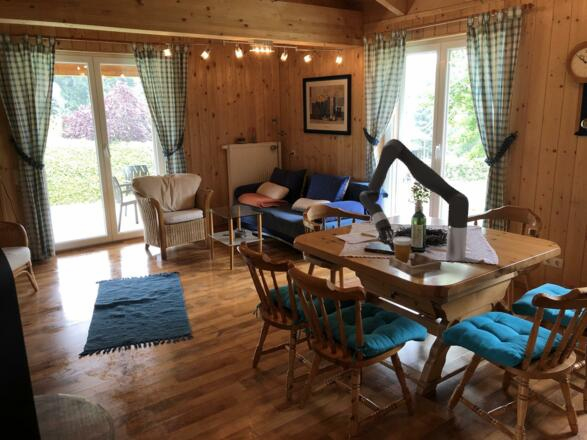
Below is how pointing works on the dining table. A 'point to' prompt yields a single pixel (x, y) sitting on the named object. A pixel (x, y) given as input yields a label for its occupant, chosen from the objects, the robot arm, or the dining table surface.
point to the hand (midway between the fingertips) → (394, 250)
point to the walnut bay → (426, 266)
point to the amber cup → (402, 248)
